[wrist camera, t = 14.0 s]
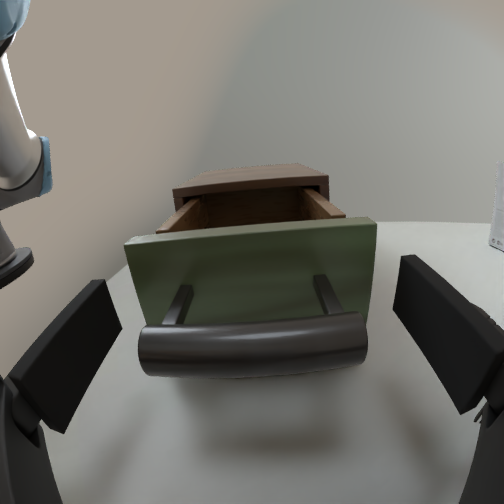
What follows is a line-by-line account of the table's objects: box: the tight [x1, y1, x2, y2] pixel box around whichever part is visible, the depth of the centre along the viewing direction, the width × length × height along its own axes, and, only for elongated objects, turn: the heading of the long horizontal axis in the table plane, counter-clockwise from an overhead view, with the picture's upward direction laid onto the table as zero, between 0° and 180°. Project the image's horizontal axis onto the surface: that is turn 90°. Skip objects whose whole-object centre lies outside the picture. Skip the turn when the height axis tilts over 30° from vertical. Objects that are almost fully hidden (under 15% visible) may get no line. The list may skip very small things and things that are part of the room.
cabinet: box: [172, 163, 329, 212], centre depth 30 cm, size 16×13×10 cm
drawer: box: [124, 186, 377, 378], centre depth 17 cm, size 20×11×8 cm, turn 0°
